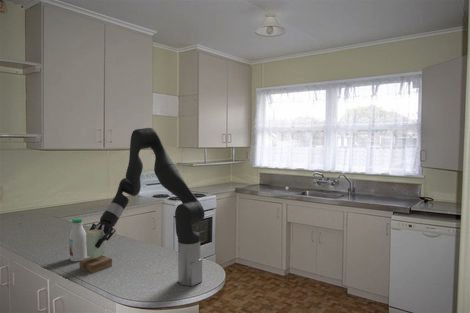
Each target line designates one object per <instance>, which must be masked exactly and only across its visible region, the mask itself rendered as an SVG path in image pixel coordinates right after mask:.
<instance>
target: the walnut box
mask: <svg viewBox="0 0 470 313" xmlns="http://www.w3.org/2000/svg"><path fill="white" fill-rule="evenodd" d="M78 262H79V269H80V270H82V271H85V272H87V273H89V274H92V275H93V274H95V273H96V274H97V273H98V272H100V271H103V270H106V269H109V268H112V267H113V258H110V257H109V256H106V255H105V256H104V255H101V256H99V257H96V258H93V257H89V256H88V257H87V258H86V259H83V260H80V261H78Z"/></svg>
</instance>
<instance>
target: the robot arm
mask: <svg viewBox="0 0 470 313" xmlns="http://www.w3.org/2000/svg"><path fill="white" fill-rule="evenodd" d="M143 149H145V150H146V149H151V150H152V151H153V153H154V157H155V160H154V165H153V166H154V168H153V172H154V175H155V177H156V178H157V180H158V181H159V183H160V185H161V186H162V187H163V188H164V189H166V190H167V191H168V192H170V193H171V194H173V195H174V196H175V197H177V199H179V200H180V203H181V204H178V205H177V206H176V207H175V213H174V221H175V223H174V225H175V233H176V236H177V270H178V272H177V273H178V274H177V276H178V278H177V279H178V280H177V281H178V284H180V285H181V286H187V287H189V286H190V287H194V286H196V285H198V284H199V283H202V282H203V259H202V258H201V234H200V233H199V232H197V231H193V225H195V224H198V223H201V222H203V220H204V219H205V209H204V206H203V204H201V202H200V200H199V199H198V198H197V197H196V196H195V194H194V193H193V192H192V190H191V189H190V188H189V186H188V185H187V183H186V182H185V180H184V178H183V177H182V174H180V171H179V170H178V168H177V167H176V165H175V164H174V162H173V161H172V159H171V157H170V155H169V153H167V150H166V149H165V147H164V144H163V143H162V140H161V138H160V137H159V134H158V132H157V131H156V130H155V129H154V128H152V127H142V128H136V129H134V130H133V131H132V132H131V137H130V143H129V160H128V165H127V169H126V172H125V177H124V178H122V179H121V180H120V181H119V185H118V188H117V191H116V193H115V195H114V197H113V199H112V200H111V202H110V203H109V205H108V206H107V207H106V209H105V210H104V211H103V213H102V215H101V217H100V218H99V222H98V223H97V224H96V223H92V224H91V226H90V228H89V230H88V231H91V230H94V229H98V230H102V233H101V234H102V235H101V236H100V239H99V240H98V241H97V243H96V245H95V247H96V248H99V247H100V246H101V244H102V243H103V241H104V242H105V241H106V242H107V241H109V240H110V239H111V237H112V236H113V235H114V234H115V232H116V228H114V227H115V226H116V224H117V223H118V221H119V219H120V217H121V216H122V214H123V213H124V210H125V209H126V207H127V206H128V204H129V202H130V201H129V200H130V199H129V198H128V197H127V196H126V195H125V194H127V195H130V196H132V197H135V196H138V195H139V193H140V191H141V186H142V185H141V176H142V172H143V170H144V166H143V164H144V163H143V161H142V158H140V156H139V155H140V152H141V150H143ZM124 193H125V194H124ZM103 235H104V237H103Z"/></svg>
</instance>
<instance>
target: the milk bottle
mask: <svg viewBox="0 0 470 313" xmlns="http://www.w3.org/2000/svg"><path fill="white" fill-rule="evenodd" d="M83 223H84V219H83V217H75V218H73V219H72V220H71V224H72V228H71V230H70V233H69V241H68V242H69V260H70V261H71V262H79V261H80V260H83V259H86V258H88V256H87V249H86V234H87V231H85V228H84V226H83Z"/></svg>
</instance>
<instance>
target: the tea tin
mask: <svg viewBox="0 0 470 313" xmlns="http://www.w3.org/2000/svg"><path fill="white" fill-rule="evenodd" d="M101 233H102V230H98V229H94V230H91V231H89V230H88V231H86V249H87V257H88V258H89V257H93V258H96V257H99V256H101V255H103V256H104V255H105V241H103V243H102V244H101V246H100V247H99V248H96V247H95V245H96V243H97V241H98V240H99V239H100V236H101V235H102V234H101ZM103 237H104V235H103Z"/></svg>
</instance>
